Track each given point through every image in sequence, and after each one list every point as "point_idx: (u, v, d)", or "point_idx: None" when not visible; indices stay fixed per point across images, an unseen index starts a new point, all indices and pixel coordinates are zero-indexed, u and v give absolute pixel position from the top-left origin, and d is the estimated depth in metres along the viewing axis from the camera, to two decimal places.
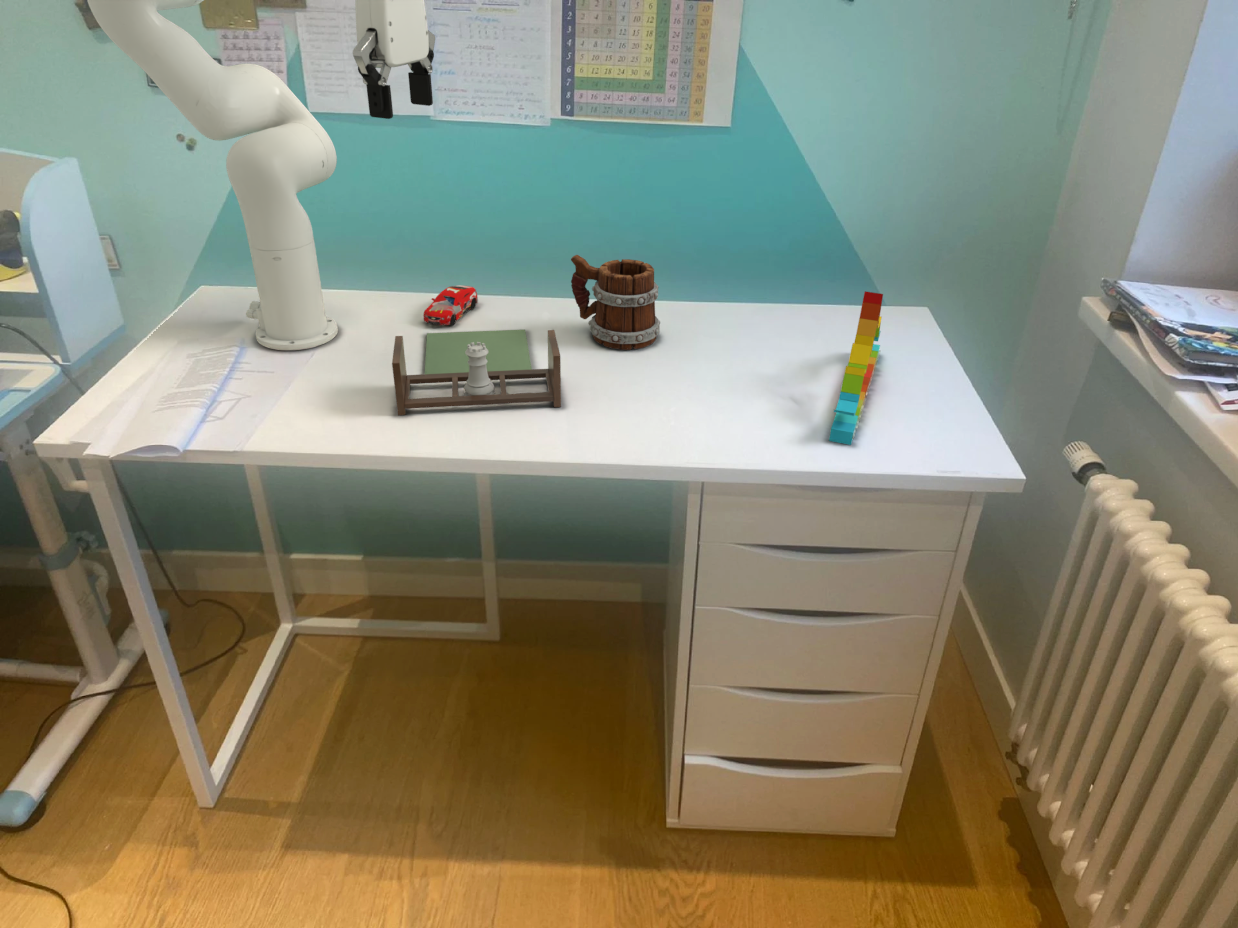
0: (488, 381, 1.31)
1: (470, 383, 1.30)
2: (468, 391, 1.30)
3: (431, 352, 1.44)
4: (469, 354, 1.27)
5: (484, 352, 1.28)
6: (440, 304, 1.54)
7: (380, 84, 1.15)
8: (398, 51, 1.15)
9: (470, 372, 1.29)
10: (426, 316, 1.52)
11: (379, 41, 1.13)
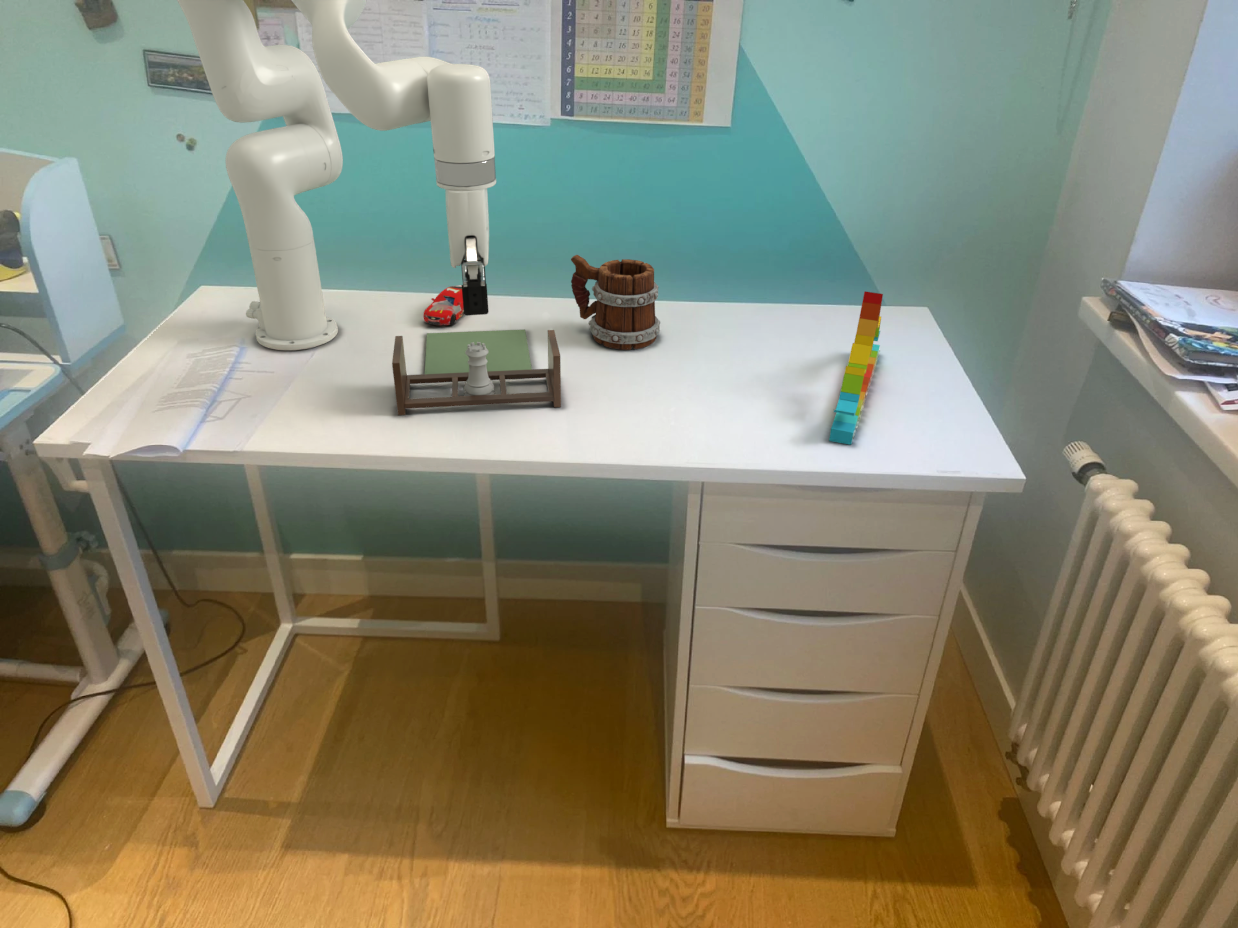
0: (488, 381, 1.31)
1: (470, 383, 1.30)
2: (468, 391, 1.30)
3: (431, 352, 1.44)
4: (469, 354, 1.27)
5: (484, 352, 1.28)
6: (440, 304, 1.54)
7: (483, 285, 1.17)
8: None
9: (470, 372, 1.29)
10: (426, 316, 1.52)
11: (478, 246, 1.16)
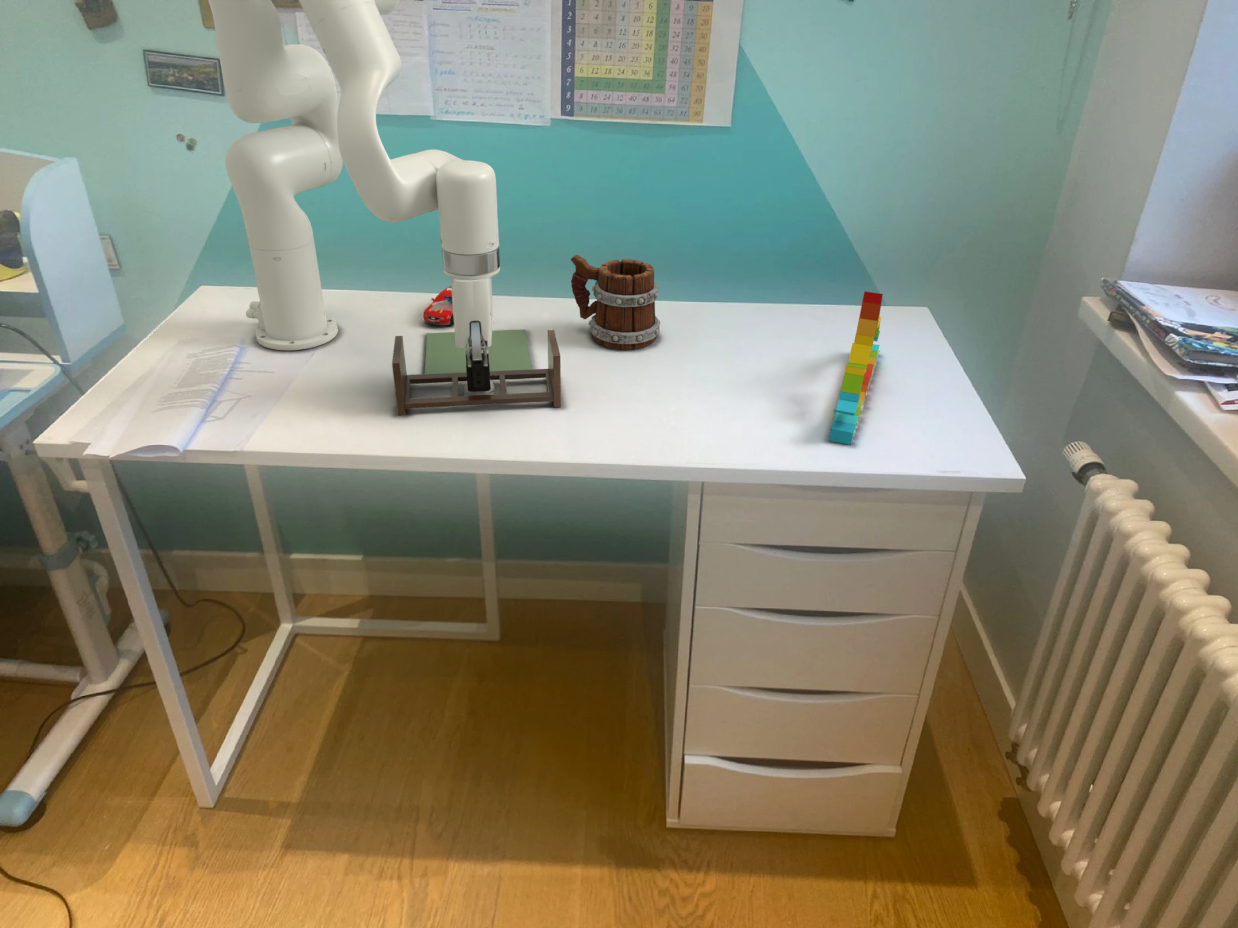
0: None
1: None
2: (468, 391, 1.30)
3: (431, 352, 1.44)
4: None
5: None
6: (440, 304, 1.54)
7: (486, 366, 1.26)
8: None
9: None
10: (426, 316, 1.52)
11: (482, 330, 1.22)
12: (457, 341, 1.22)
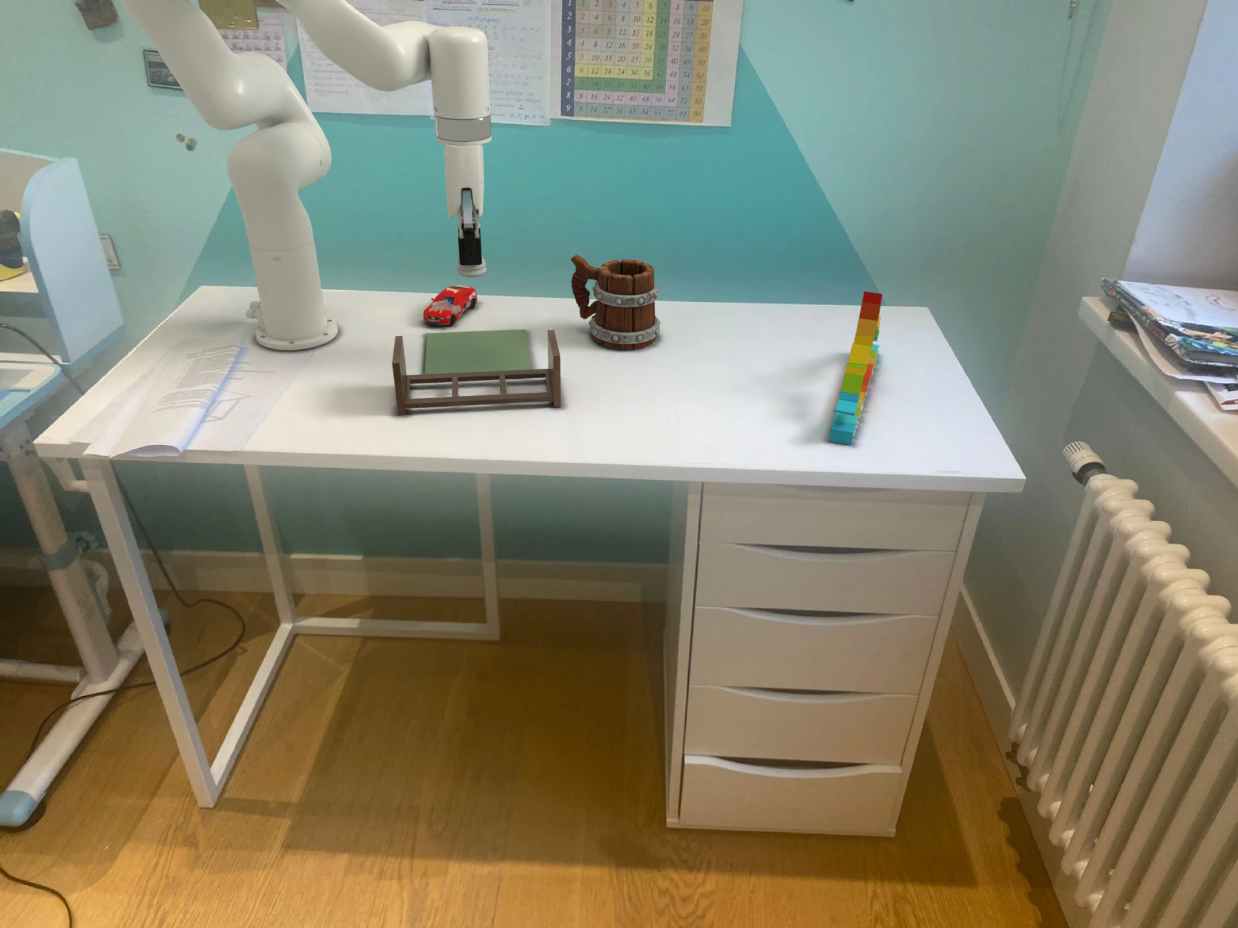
0: None
1: None
2: (460, 266, 1.33)
3: (431, 352, 1.44)
4: None
5: None
6: (440, 304, 1.54)
7: (477, 237, 1.29)
8: None
9: None
10: (426, 316, 1.52)
11: (474, 198, 1.24)
12: (449, 209, 1.25)
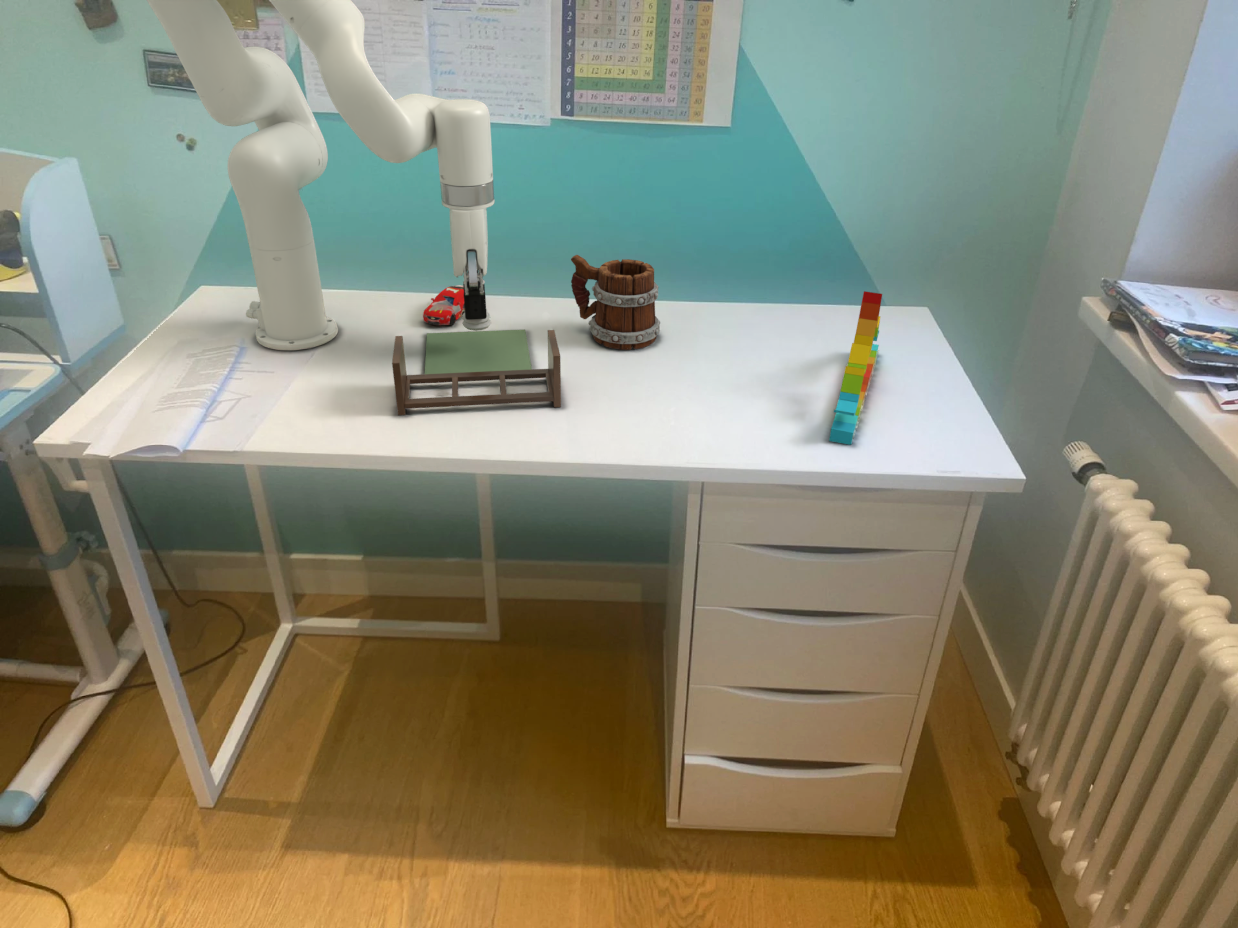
0: None
1: None
2: (466, 319, 1.40)
3: (431, 352, 1.44)
4: None
5: None
6: (439, 304, 1.54)
7: (482, 294, 1.36)
8: None
9: None
10: (426, 316, 1.52)
11: (478, 258, 1.31)
12: (455, 269, 1.32)
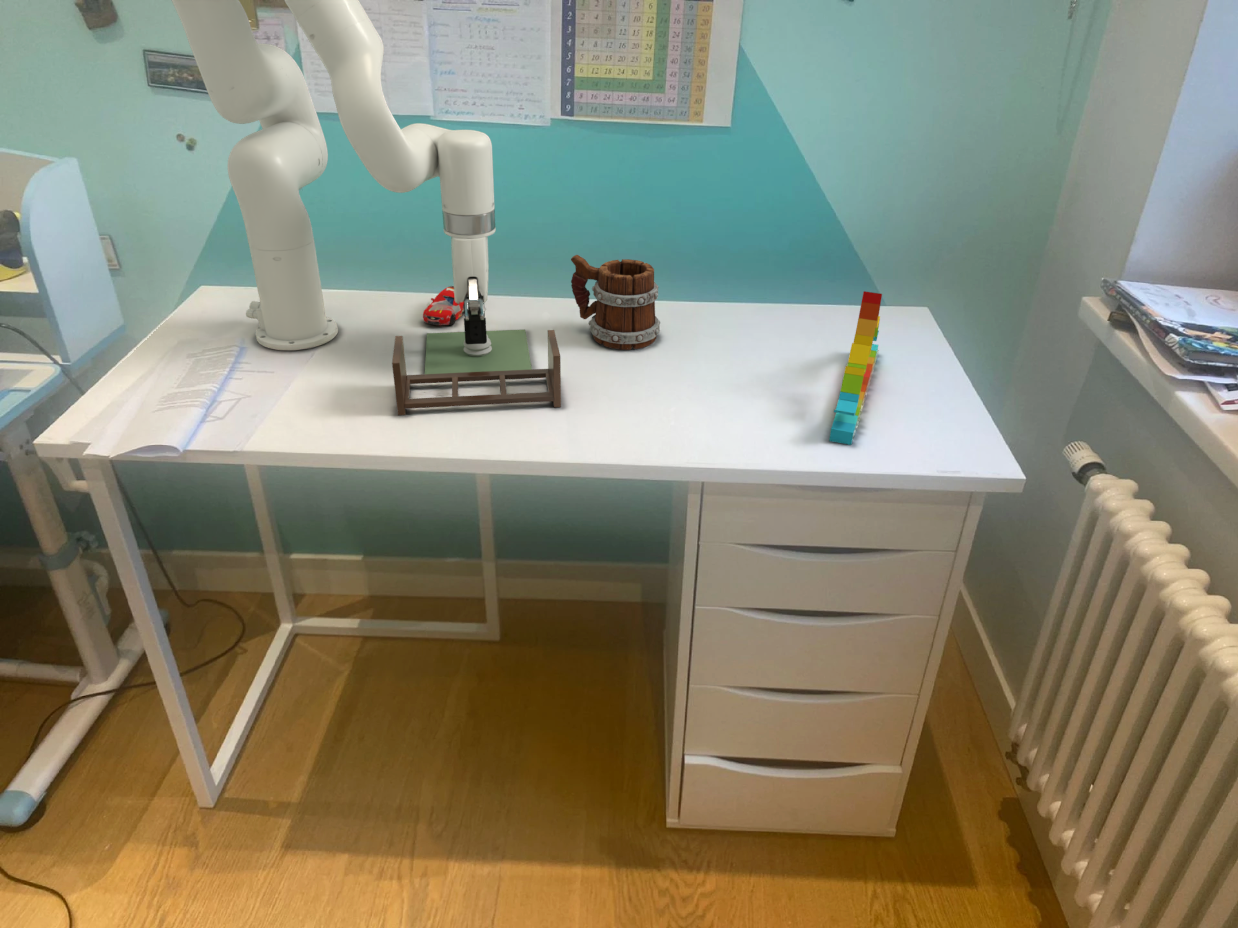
0: None
1: None
2: (467, 346, 1.42)
3: (431, 352, 1.44)
4: None
5: None
6: (439, 304, 1.54)
7: (482, 319, 1.35)
8: None
9: None
10: (425, 316, 1.52)
11: (479, 286, 1.33)
12: (456, 295, 1.34)
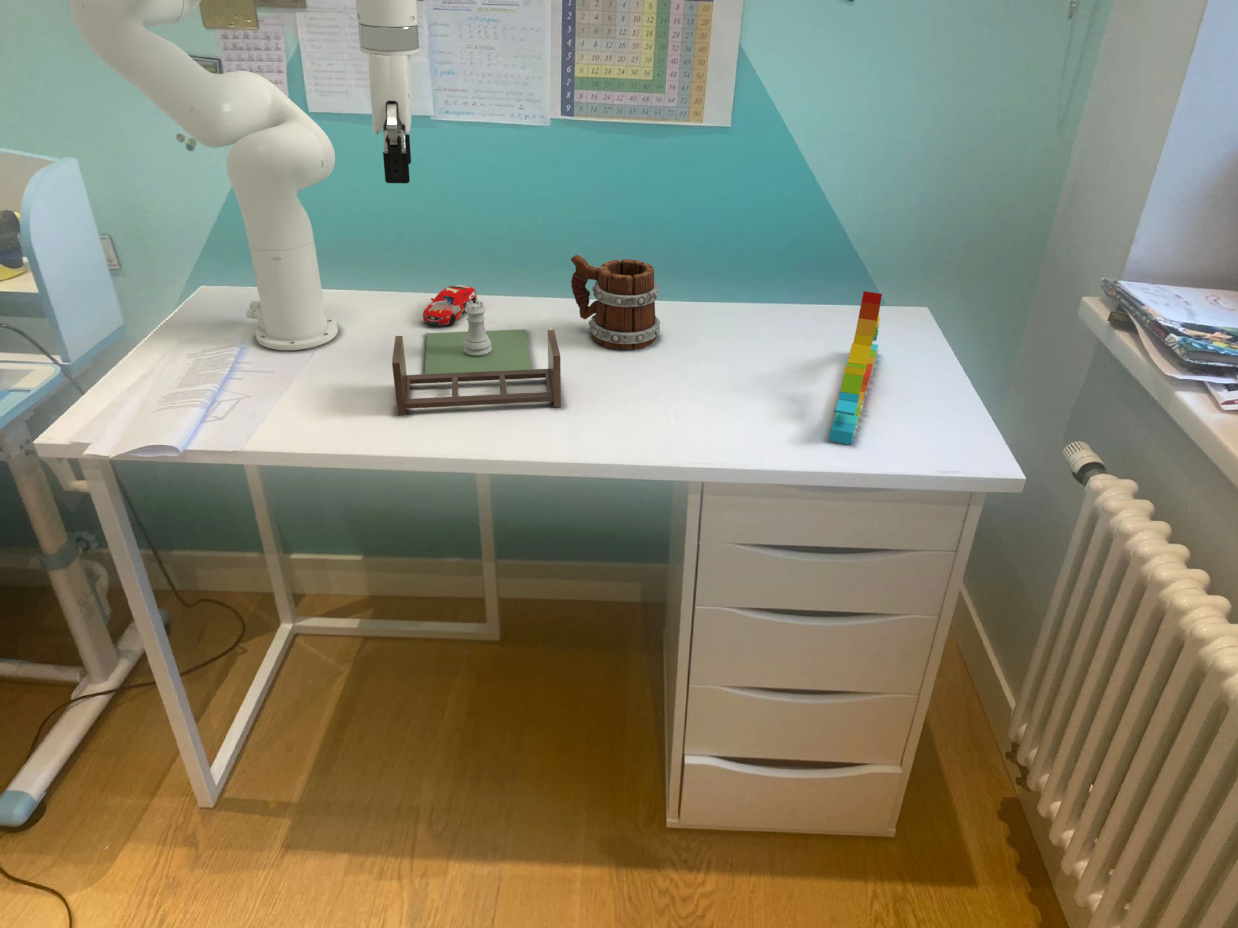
0: (486, 337, 1.43)
1: (469, 338, 1.42)
2: (467, 346, 1.42)
3: (431, 352, 1.44)
4: (468, 311, 1.39)
5: (482, 310, 1.40)
6: (439, 304, 1.54)
7: (403, 152, 1.21)
8: (410, 119, 1.22)
9: (469, 328, 1.41)
10: (425, 316, 1.52)
11: (400, 112, 1.19)
12: (374, 123, 1.20)
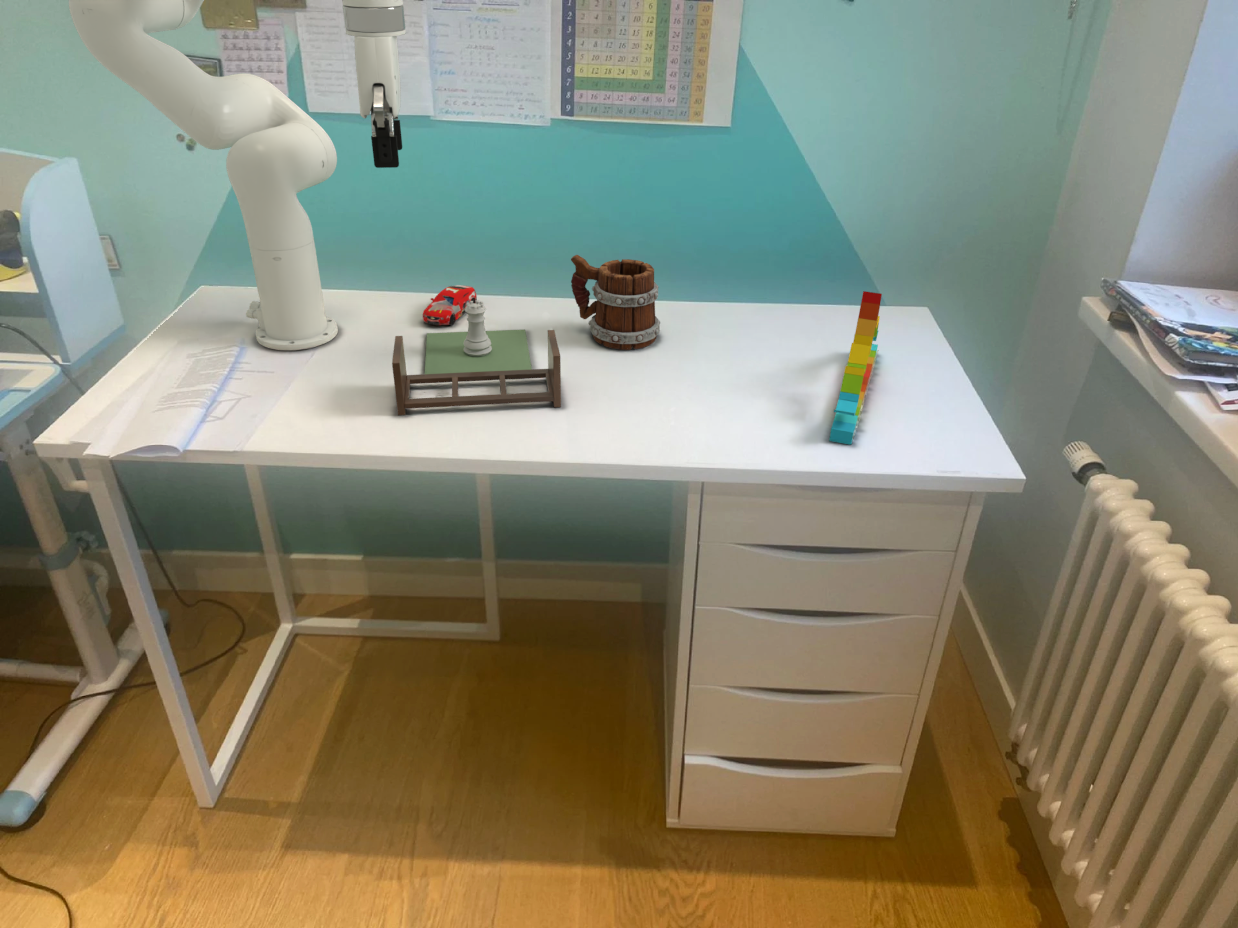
0: (486, 337, 1.43)
1: (469, 338, 1.42)
2: (467, 346, 1.42)
3: (431, 352, 1.44)
4: (468, 311, 1.39)
5: (482, 310, 1.40)
6: (439, 304, 1.54)
7: (391, 135, 1.20)
8: (398, 102, 1.20)
9: (469, 328, 1.41)
10: (425, 316, 1.52)
11: (386, 95, 1.18)
12: (361, 107, 1.18)
